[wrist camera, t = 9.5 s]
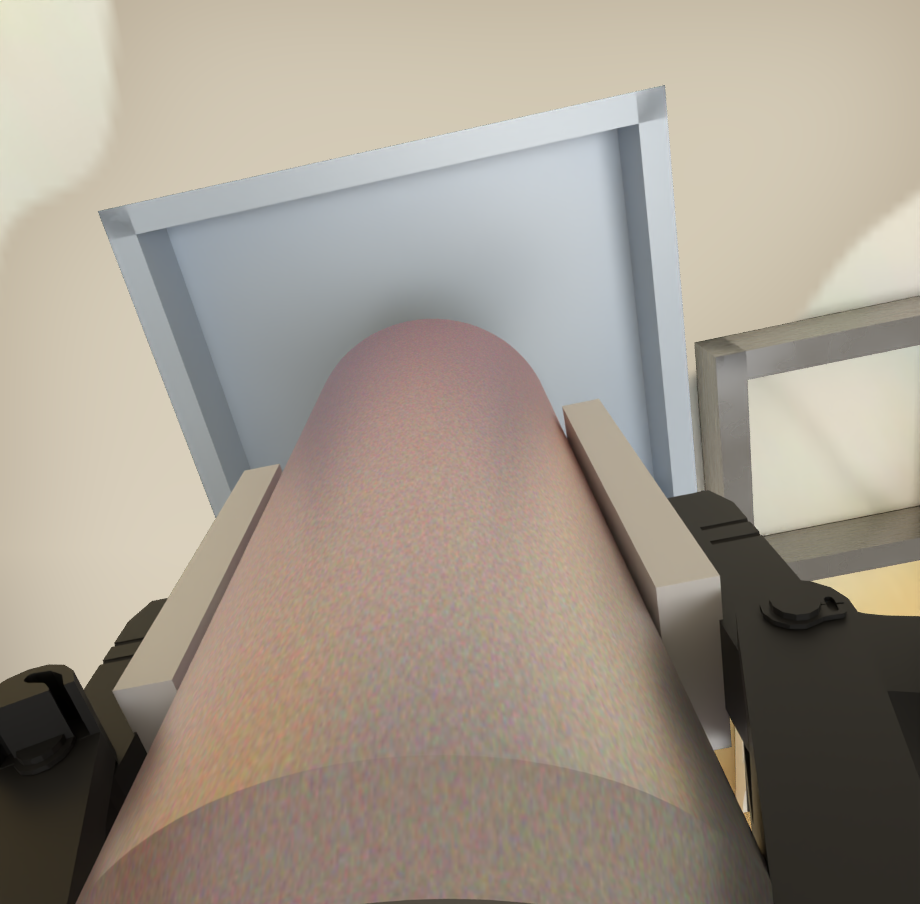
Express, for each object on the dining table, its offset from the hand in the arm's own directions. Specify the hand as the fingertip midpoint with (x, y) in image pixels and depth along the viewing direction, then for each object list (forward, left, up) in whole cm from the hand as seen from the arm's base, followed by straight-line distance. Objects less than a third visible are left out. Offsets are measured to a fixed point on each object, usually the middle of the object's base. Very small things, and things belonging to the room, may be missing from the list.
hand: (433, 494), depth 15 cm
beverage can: (0, 0, -4) cm, 4 cm away
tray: (0, 0, -11) cm, 11 cm away
